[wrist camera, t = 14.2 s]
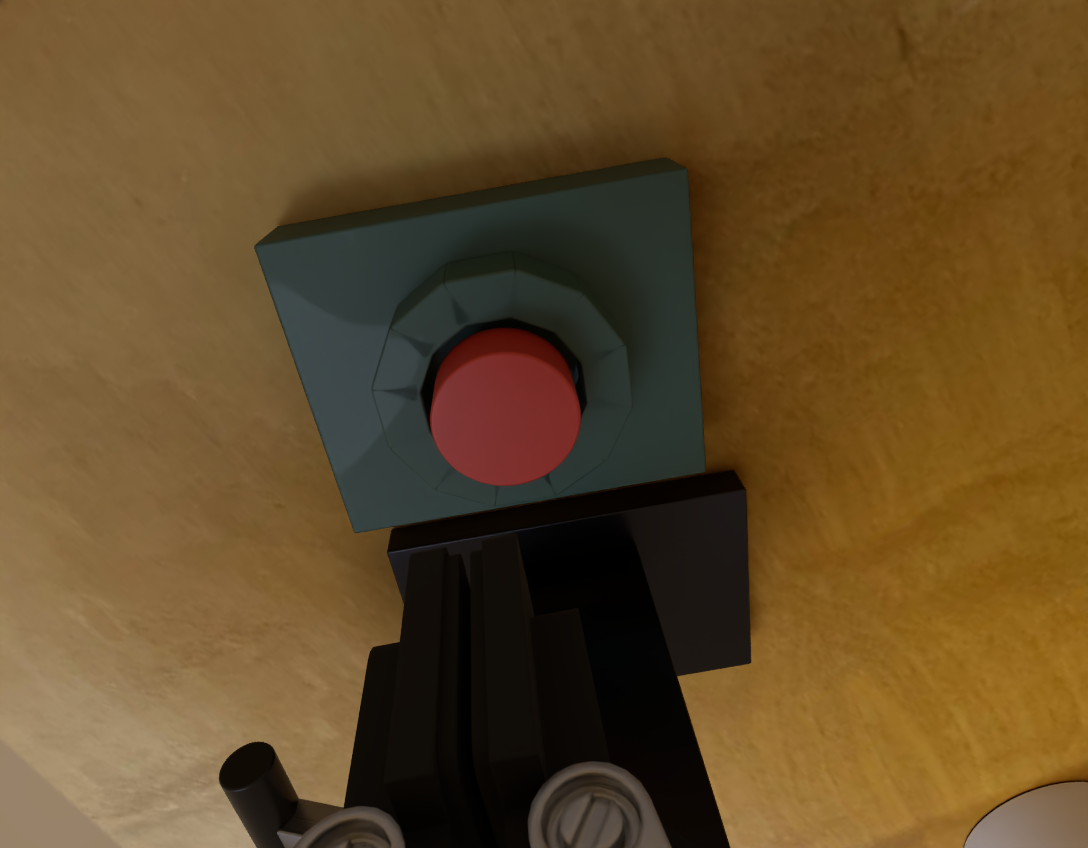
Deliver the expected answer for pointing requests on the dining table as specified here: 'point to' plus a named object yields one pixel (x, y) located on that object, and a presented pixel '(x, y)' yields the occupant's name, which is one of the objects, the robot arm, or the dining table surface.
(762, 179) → the dining table surface
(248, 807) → the lever
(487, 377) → the button
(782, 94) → the dining table surface
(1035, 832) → the cup
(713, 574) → the bracket
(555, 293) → the button box
